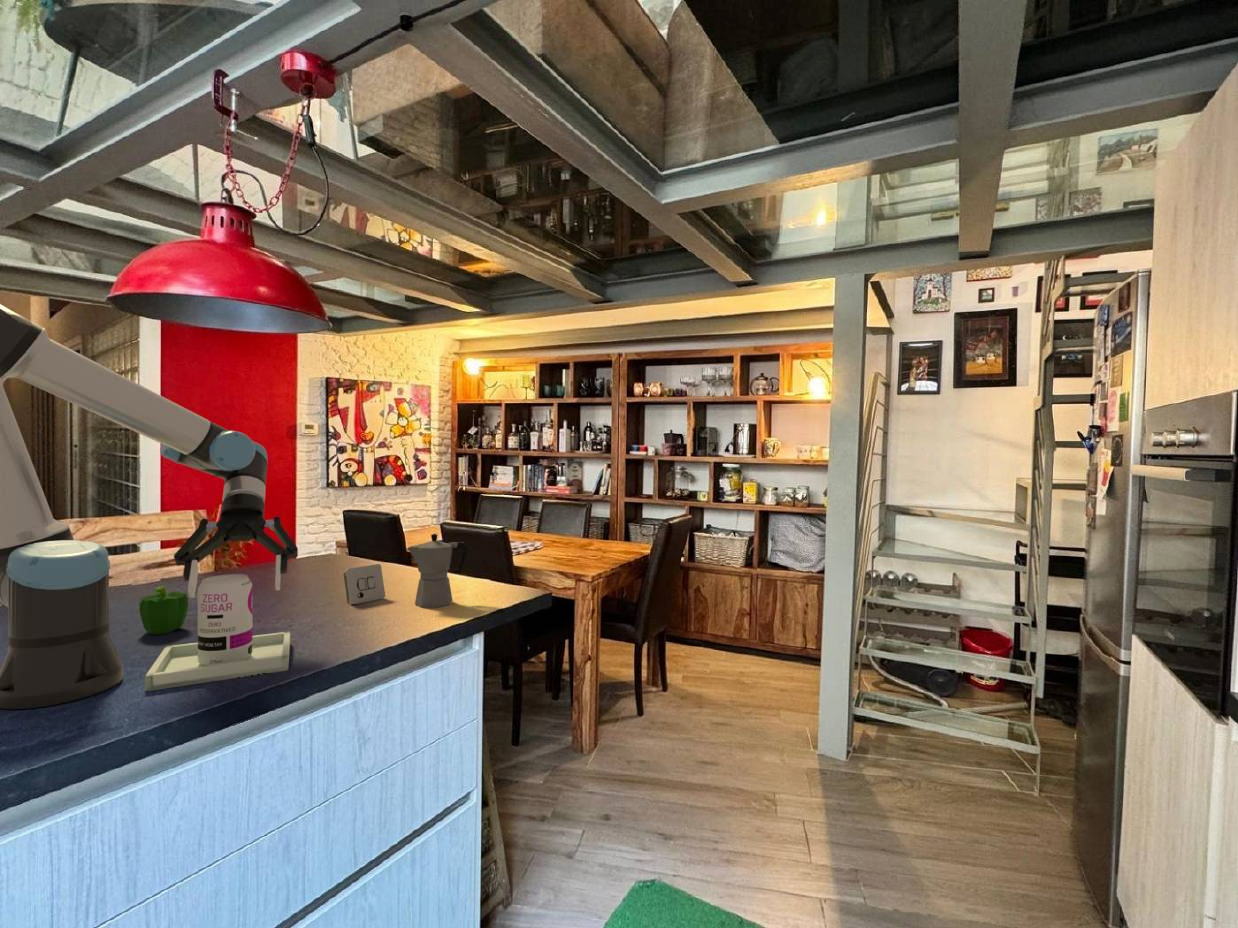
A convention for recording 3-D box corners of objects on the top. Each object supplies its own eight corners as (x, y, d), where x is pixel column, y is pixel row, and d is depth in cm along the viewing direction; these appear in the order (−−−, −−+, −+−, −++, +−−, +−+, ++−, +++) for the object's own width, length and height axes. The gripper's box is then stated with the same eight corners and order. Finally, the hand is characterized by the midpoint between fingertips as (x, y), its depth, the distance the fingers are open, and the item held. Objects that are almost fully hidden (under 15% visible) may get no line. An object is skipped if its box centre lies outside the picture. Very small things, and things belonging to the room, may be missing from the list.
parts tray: (145, 691, 93) (145, 676, 93) (166, 659, 107) (166, 646, 107) (288, 670, 102) (288, 656, 102) (290, 643, 116) (290, 631, 116)
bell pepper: (161, 624, 128) (161, 580, 127) (197, 626, 127) (196, 581, 127) (127, 637, 119) (126, 589, 119) (164, 638, 119) (164, 590, 118)
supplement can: (248, 649, 110) (248, 571, 110) (255, 661, 104) (255, 579, 104) (196, 658, 105) (196, 577, 105) (199, 672, 99) (199, 585, 98)
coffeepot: (407, 610, 142) (407, 537, 141) (406, 601, 150) (406, 532, 150) (471, 604, 147) (471, 534, 147) (466, 596, 156) (466, 530, 156)
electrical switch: (351, 606, 145) (349, 569, 146) (341, 604, 148) (340, 568, 149) (386, 599, 152) (384, 563, 153) (376, 597, 156) (374, 563, 156)
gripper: (310, 511, 129) (310, 593, 117) (172, 516, 118) (155, 608, 105) (310, 490, 124) (310, 573, 112) (166, 492, 113) (148, 585, 100)
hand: (235, 590), depth 108 cm, fingers open, 13 cm apart
